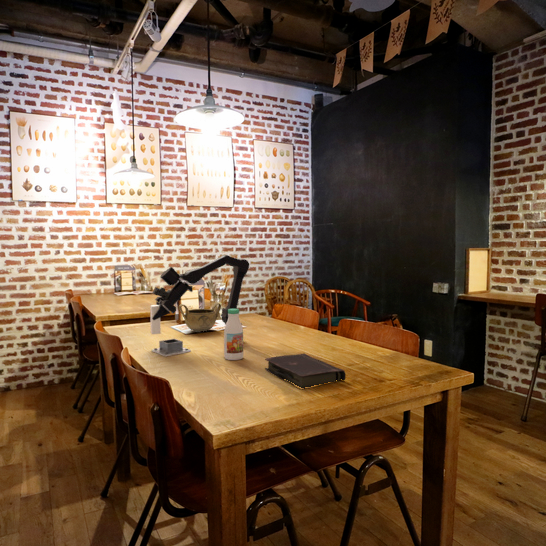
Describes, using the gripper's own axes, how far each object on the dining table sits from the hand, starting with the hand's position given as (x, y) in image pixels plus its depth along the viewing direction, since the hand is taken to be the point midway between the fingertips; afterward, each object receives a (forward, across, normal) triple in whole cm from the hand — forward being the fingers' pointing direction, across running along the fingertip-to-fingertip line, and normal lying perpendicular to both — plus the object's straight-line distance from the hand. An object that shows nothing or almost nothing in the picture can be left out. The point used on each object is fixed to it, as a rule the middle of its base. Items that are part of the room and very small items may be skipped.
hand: (152, 318), depth 189 cm
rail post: (+4, 0, +6) cm, 7 cm away
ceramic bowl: (-12, -28, +31) cm, 43 cm away
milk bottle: (-9, +31, +28) cm, 43 cm away
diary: (-18, +64, +38) cm, 76 cm away
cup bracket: (+5, +9, +14) cm, 17 cm away
